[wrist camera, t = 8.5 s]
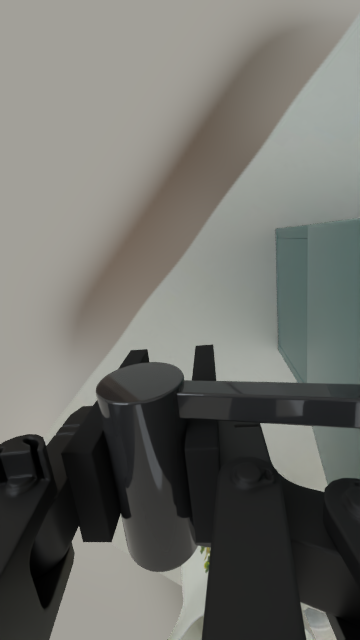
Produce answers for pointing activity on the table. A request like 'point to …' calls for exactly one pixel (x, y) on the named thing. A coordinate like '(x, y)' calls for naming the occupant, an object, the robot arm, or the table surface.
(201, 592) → the pitcher
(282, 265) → the tin
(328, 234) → the lid
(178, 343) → the table surface
